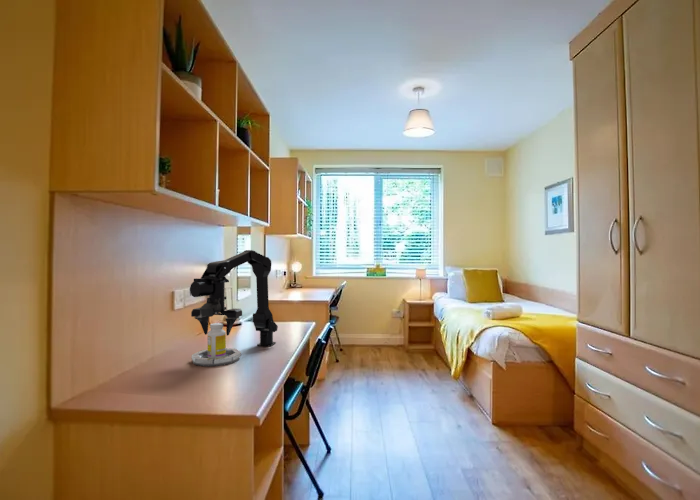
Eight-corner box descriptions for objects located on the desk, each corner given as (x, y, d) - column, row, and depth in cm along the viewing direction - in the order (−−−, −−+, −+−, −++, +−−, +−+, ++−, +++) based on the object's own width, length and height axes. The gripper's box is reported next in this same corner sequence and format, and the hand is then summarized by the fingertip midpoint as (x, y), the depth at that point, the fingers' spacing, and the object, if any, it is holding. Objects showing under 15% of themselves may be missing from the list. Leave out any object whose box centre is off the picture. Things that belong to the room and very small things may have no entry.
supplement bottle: (228, 355, 150) (228, 322, 150) (221, 359, 144) (221, 325, 144) (212, 354, 151) (212, 322, 151) (204, 359, 144) (204, 325, 145)
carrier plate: (208, 353, 157) (208, 347, 157) (247, 355, 154) (247, 349, 154) (183, 365, 140) (183, 358, 140) (225, 367, 137) (225, 360, 137)
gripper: (182, 296, 141) (182, 338, 141) (228, 297, 138) (228, 340, 138) (199, 293, 152) (199, 332, 152) (242, 294, 149) (242, 334, 149)
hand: (216, 334), depth 147 cm, fingers open, 9 cm apart
